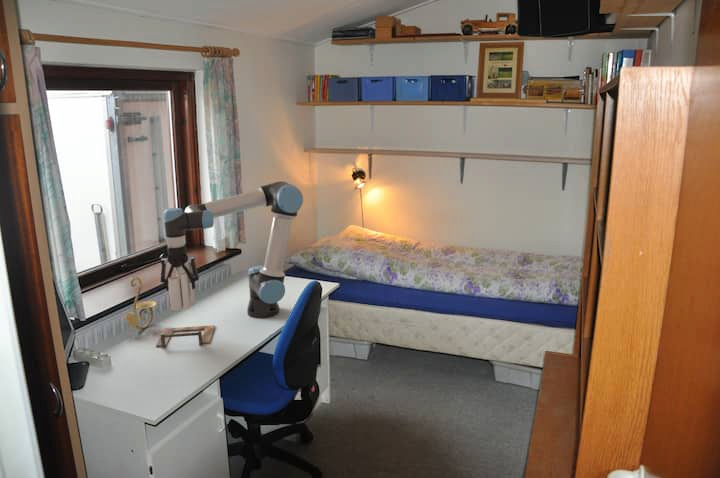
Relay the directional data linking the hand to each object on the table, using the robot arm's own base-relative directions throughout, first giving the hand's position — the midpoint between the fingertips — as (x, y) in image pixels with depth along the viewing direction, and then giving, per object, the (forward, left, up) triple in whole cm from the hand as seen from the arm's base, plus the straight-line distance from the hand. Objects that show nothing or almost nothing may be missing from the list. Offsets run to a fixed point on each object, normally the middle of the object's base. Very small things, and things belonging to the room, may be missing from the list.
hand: (181, 296), depth 240 cm
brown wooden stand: (0, 0, -19) cm, 19 cm away
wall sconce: (+21, -14, -19) cm, 31 cm away
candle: (-1, 0, -5) cm, 5 cm away
